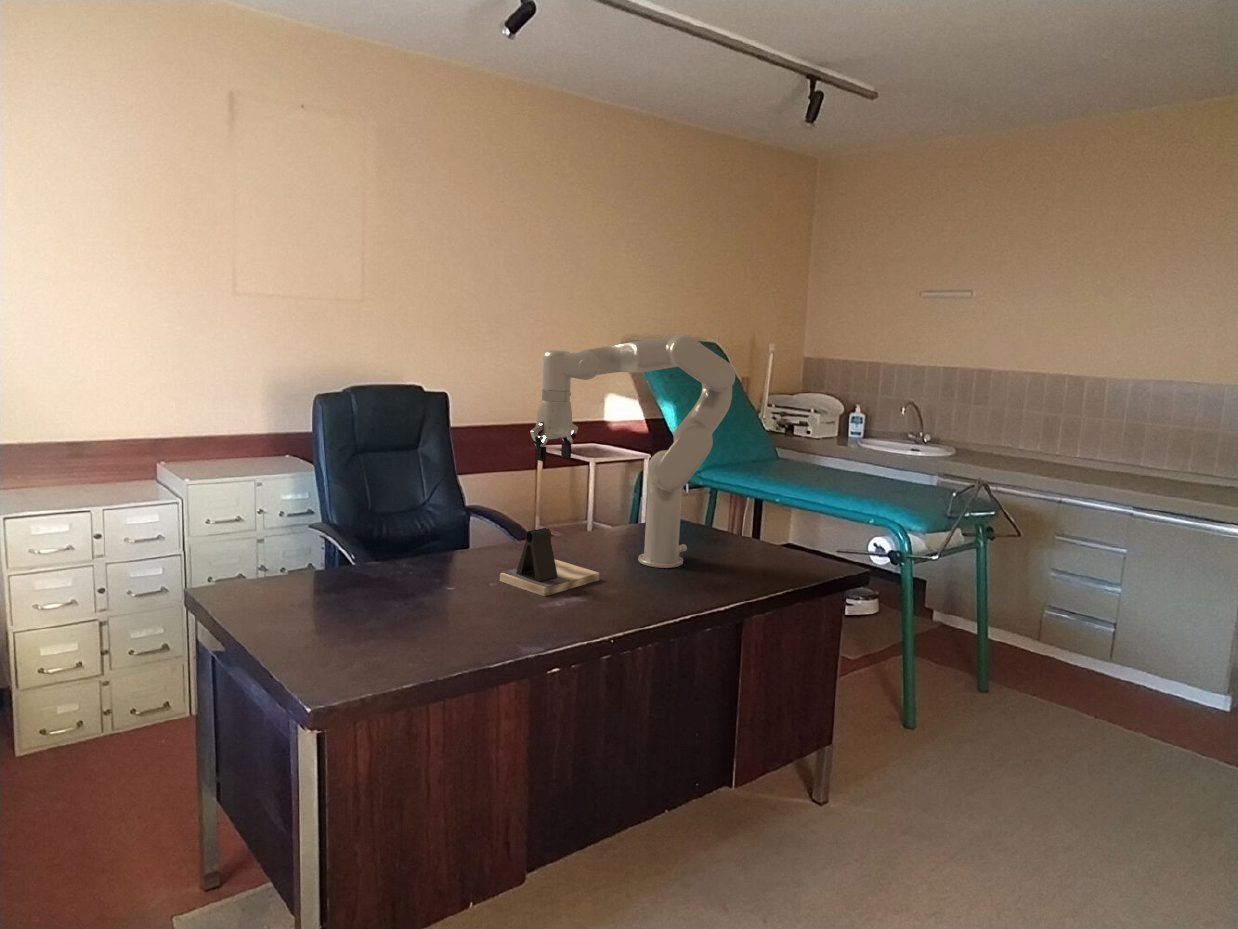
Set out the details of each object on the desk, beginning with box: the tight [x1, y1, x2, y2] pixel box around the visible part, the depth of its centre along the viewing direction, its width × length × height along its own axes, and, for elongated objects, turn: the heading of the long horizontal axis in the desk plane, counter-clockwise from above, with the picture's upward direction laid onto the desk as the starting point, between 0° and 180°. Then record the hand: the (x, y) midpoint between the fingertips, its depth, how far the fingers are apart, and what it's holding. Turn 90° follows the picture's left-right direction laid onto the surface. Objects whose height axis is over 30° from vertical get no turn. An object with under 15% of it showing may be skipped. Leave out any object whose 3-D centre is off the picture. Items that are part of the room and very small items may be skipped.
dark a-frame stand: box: [516, 527, 558, 582], centre depth 225 cm, size 9×6×12 cm, turn 47°
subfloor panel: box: [499, 558, 600, 597], centre depth 229 cm, size 20×16×2 cm
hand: (553, 459), depth 244 cm, fingers open, 9 cm apart
